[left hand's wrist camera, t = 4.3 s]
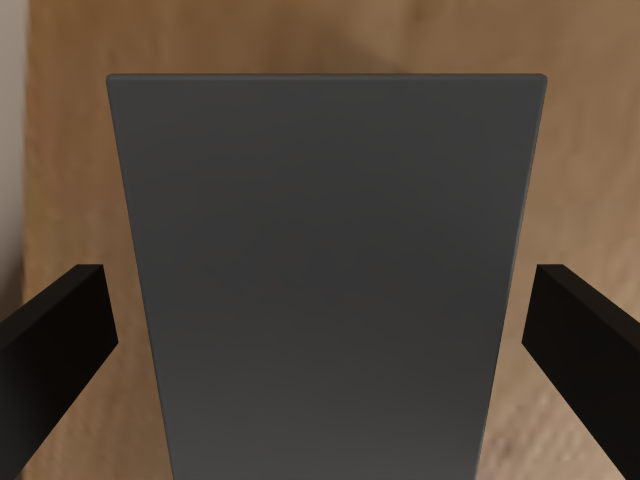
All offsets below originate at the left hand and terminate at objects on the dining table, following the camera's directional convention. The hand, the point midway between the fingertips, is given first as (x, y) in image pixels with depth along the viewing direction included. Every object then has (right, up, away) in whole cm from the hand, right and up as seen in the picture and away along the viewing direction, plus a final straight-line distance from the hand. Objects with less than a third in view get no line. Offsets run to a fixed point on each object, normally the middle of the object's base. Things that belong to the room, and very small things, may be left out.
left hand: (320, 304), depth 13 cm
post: (0, -31, +14) cm, 34 cm away
